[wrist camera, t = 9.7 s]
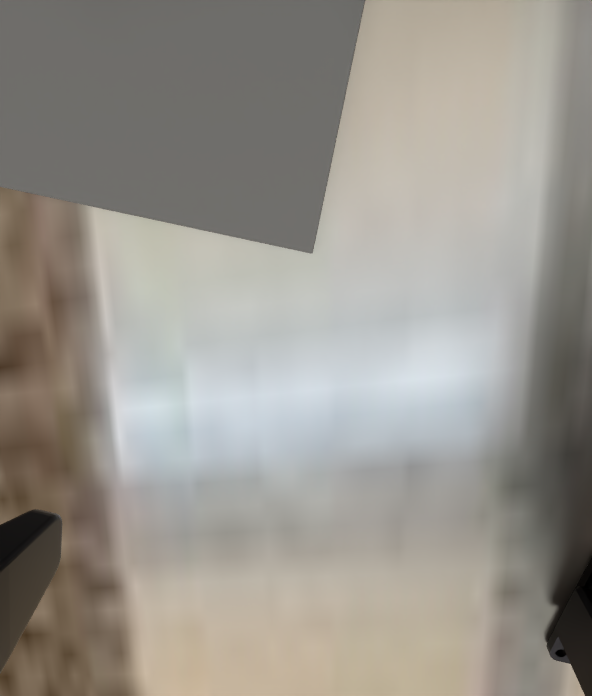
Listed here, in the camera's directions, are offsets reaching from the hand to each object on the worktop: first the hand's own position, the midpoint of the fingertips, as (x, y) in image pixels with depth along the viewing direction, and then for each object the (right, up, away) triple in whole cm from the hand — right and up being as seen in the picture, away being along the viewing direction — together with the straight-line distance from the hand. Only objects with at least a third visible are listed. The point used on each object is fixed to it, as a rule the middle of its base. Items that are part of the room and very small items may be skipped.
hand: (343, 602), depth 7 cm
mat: (-5, +13, +10) cm, 17 cm away
